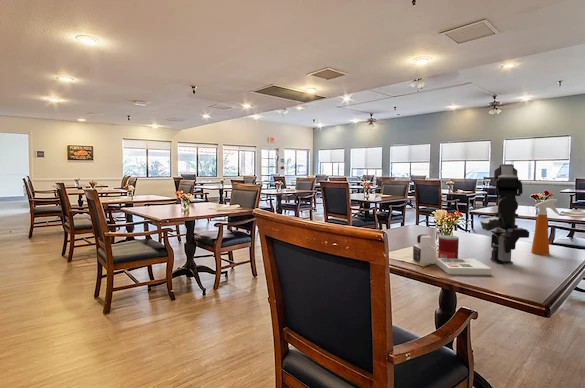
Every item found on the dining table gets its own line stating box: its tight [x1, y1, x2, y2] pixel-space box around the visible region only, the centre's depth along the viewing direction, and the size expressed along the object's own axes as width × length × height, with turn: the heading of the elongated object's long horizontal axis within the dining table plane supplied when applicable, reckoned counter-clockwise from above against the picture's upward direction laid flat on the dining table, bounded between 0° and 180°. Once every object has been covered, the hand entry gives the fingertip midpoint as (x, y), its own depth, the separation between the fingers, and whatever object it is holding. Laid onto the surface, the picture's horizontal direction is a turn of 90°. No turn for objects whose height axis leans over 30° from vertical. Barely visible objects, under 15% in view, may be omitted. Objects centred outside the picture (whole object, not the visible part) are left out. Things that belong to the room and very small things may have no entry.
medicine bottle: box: [412, 233, 437, 265], centre depth 148 cm, size 7×7×12 cm
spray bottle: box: [531, 198, 561, 256], centre depth 161 cm, size 7×11×26 cm, turn 72°
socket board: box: [435, 257, 492, 276], centre depth 138 cm, size 16×14×3 cm
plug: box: [498, 234, 512, 261], centre depth 126 cm, size 3×3×10 cm
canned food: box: [437, 234, 460, 259], centre depth 150 cm, size 8×8×11 cm
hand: (504, 251), depth 126 cm, fingers closed on plug, 3 cm apart
